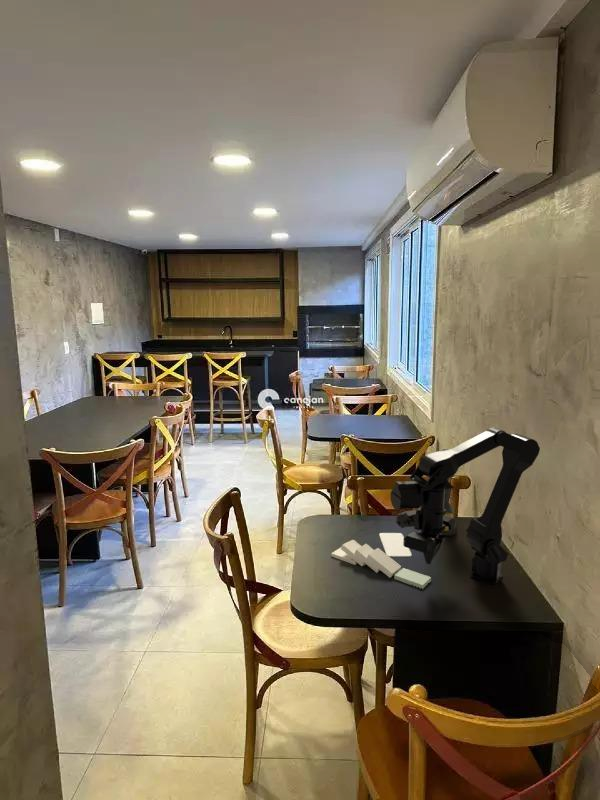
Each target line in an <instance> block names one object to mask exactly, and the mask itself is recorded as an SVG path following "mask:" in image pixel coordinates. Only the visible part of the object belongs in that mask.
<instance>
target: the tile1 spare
mask: <svg viewBox="0 0 600 800" xmlns="http://www.w3.org/2000/svg"><path fill="white" fill-rule="evenodd" d="M393 576H394V578H393V579H394V580H397V581H398V582H402V583H404V584H407V585H410V586H412V585H413V587H415V586H416V587H415V588H418V587H419V588H418V589H421V588H422V589H421V590H424V589H425V588H426V586H428V585H429V584H430V583H431V582H432V577H431V576H429V575H426V574H422V573H420V572H417V571H414V570H411V569H407V568H404V567H402V568H400V570H399V571H398V572H397V573H396V574H394V575H393ZM428 583H429V584H428Z"/></svg>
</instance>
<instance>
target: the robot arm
mask: <svg viewBox="0 0 600 800" xmlns="http://www.w3.org/2000/svg"><path fill="white" fill-rule="evenodd" d="M498 447H503V448H502V451H501V454H502V455H501V457H502V467H501V470H500V472H499V474H498V477H497V479H496V481H495V484H494V487H493V489H492V491H491V494H490V495H489V497H488V501H487V503H486V506H485V508H484V510H483V513H482V514H481V515H480V516H478V518H477V519H476V518H473V517H472V518H471V519H470V522H469V525H468V526H467V528H466V530H465V532H466V536H465V538H466V541H467V543H468V544H469V545H470V548H471V549H472V550H473V551H475V552H474V556H472V558H471V574H470V577H471V578H472V579H475V580H479V581H482V582H485V583H487V584H491V585H497V583H498V581H500V580H501V578H502V577H503V573H502V572H501V569H502V562H506V561H507V559H508V556H509V553H508V552H507V551H506V550H505V548H503V547H502V546H501V543H502V538H503V532H502V531H503V530H502V523H503V522H502V521H503V519H504V517H505V515H506V512H507V510H508V508H509V505H510V503H511V500H512V499H513V496H514V493H515V491H516V489H517V486H518V484H519V482H520V479H521V477H522V475H523V473H524V472H525V471H526V470H527V469H529V468H530V467H532V465H533V464H534V463H535V461H536V459H537V457H538V456H539V454H540V449H541V447H540V446H539V443H538V441H537V440H535V439H533V438H530V437H527V436H526V435H525V436H524V435H522V434H520V433H512V434H510V433H507V432H506V431H505V430H502V429H500V428H497V427H489V428H487V429H486V430H485V431H483V432H481V433H479V434H478V435H475V436H474V437H472V438H470V439H468V440H466V441H464V442H462V443H460V444H458V445H456V446H453V447H452V448H450V449H449V450H446V451H441V450H438V451H435V452H431V453H428V454H425V455H423V456H422V457H421V458H420V461H419V464H418V465H417V467H416V468H415V469H414V471H413V472H412V474H411V475H410V476H409V480H410V481H395V482H394V486H393V487H392V488H391V491H390V493H389V494H390V496H389V497H390V503H391V506H392V508H393V509H394V510H395V511H400V510H401V511H402V510H407V511H403V512H399V513H398V514H397V516H396V521H395V523H396V524H397V526H398V527H400V528H401V529H405V528H409V527H413V530H415V531H412V532H410V533H409V534H408V535H406V536H404V541H403V546H404V547H407V548H409V550H410V549H411V550H414V551H416V552H419V553H422V554H423V557H424V560H425V563H426V564H427V565H431V564H432V563H433V561H434V559H435V558H436V557H437V554H438V553H439V550H440V549H441V547H442V545H443V544H444V542H445V540H446V539H447V536H446V535H445V536H444V535H441V532H442V531H443V530H444V529H445V526H446V527H449V528H448V529H449V531H451V532H452V531H453V530H454V529H455V526H456V527H457V522H455V521H456V519H455V520H454V519H453V518H451V517H447V516H444V515H445V514H446V510H447V509H444V497H445V489H450V490H453V489H454V486H453V485H452V484H450V483H451V482H450V483H449V482H448V479H449V478H450V477H452V476H453V475H454V474H455V473H456V471H457V469H458V470H459V469H460V467H462V466H463V465H466V464H467V463H469V462H471V461H474V460H475V459H477V458H479V457H480V456H483V455H484V454H486V453H488V452H490V451H493V450H494V449H496V448H498ZM457 472H458V471H457ZM456 474H457V473H456ZM456 474H455V475H456ZM455 475H454V476H455ZM423 476H424V477H425V478H427V479H428V480H426V479H425V478H423ZM454 476H453V477H454ZM453 477H452V478H453ZM414 509H415V510H414ZM416 530H417V532H416ZM418 531H419V532H418Z"/></svg>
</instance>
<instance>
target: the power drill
mask: <svg viewBox="0 0 600 800" xmlns="http://www.w3.org/2000/svg"><path fill="white" fill-rule="evenodd" d="M446 450H450V449H449V448H445V449H441V450H440V451H446ZM458 471H459V468H458V469H457V471H456V473H455V474H454V475H453V476H452V477H450V478H449V479H448V482H449V483H450V484H451V483H452V481H451V480H452V478H453V477H454V476H455V475H456V474H457V472H458ZM451 485H452V484H451ZM450 492H451V489H445V497H444V509H447V510H446V514H445V515H444V516H447V517H451V518H453V519H454V520H455V522H456V515H455V508H454V506H453V505H452V504H451V503H450V499H451V498H450V497H451V494H450ZM456 523H457V522H456ZM448 528H449V527H446V526H445V529H444V530H443V531H442V532H441V535H444V536H446V537H448V536H449V537H450V536H454V535H456V532H457V531H456V530H457V525H456V526H455V529H454V530H453V531H452V532H451V531H449V529H448Z"/></svg>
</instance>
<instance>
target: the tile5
mask: <svg viewBox="0 0 600 800" xmlns="http://www.w3.org/2000/svg"><path fill="white" fill-rule="evenodd" d="M331 557H332V558H334V559H335V558H336V559H338V560H341V561H344V562H346V563H349V564H352V565H355V566H356V565H357V564H358V563H357V562H356V561H355V560H354V559H352V558H351V557H350V556H349V555H347V554H346V553H345V552H344V551H343V550H341V547H339V548H337V549H336V550H335V551H332V552H331Z"/></svg>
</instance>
